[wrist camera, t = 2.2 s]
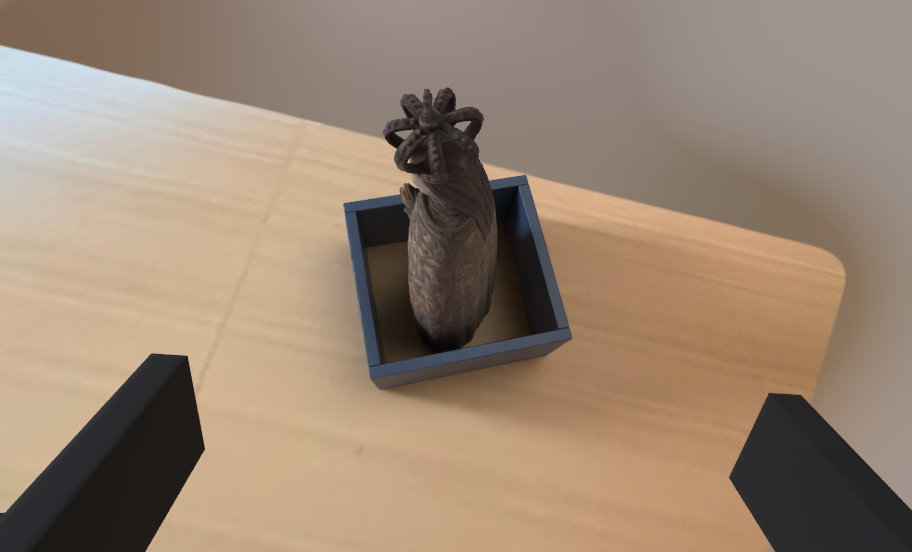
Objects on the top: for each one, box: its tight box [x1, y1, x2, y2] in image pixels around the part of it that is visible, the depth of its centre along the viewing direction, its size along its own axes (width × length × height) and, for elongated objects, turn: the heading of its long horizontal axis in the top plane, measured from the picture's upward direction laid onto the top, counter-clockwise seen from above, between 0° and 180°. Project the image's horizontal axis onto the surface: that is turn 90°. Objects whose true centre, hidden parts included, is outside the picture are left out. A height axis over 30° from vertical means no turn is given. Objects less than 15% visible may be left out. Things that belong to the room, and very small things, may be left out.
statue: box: [383, 88, 497, 353], centre depth 29 cm, size 9×8×25 cm
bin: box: [343, 175, 572, 389], centre depth 37 cm, size 13×14×7 cm
